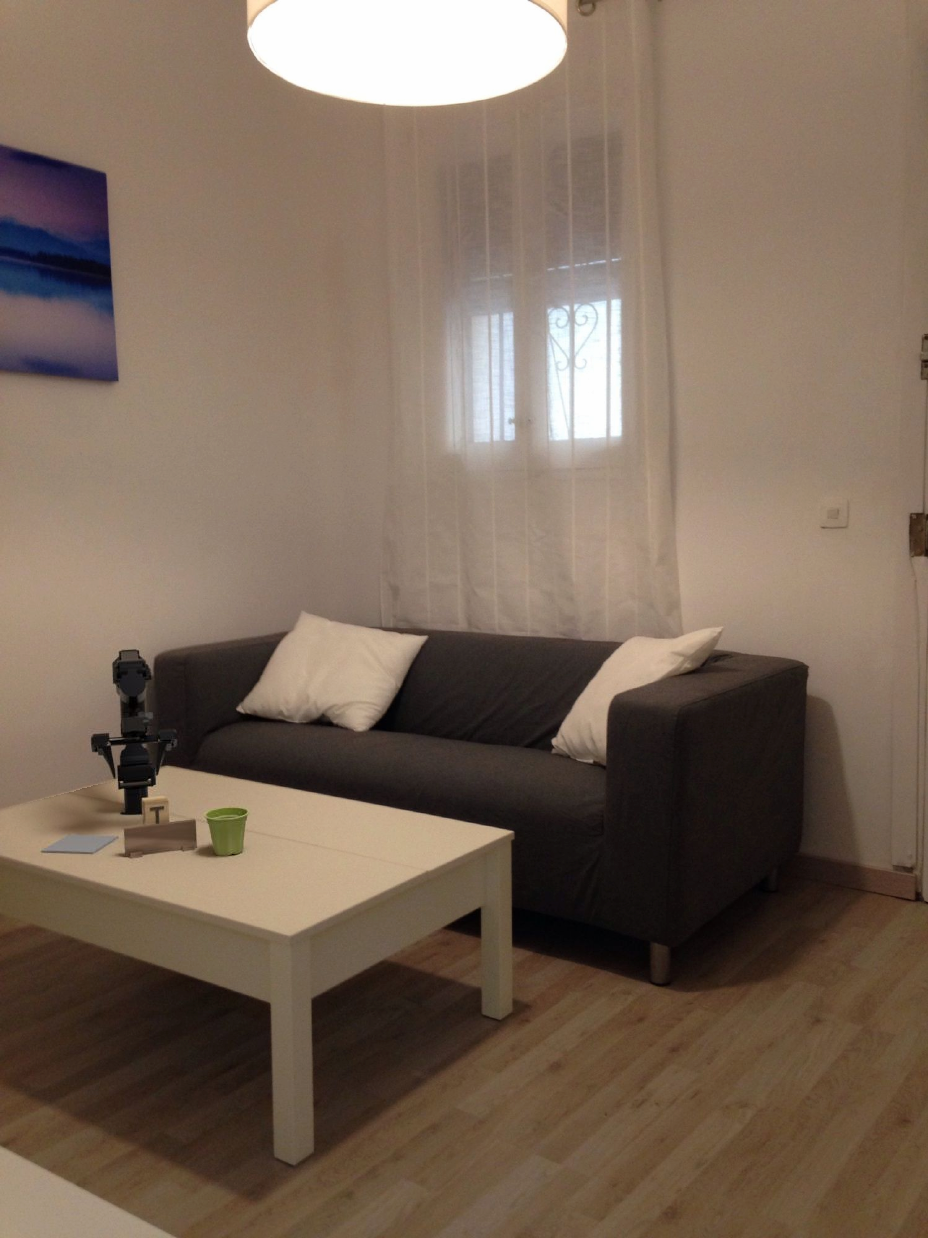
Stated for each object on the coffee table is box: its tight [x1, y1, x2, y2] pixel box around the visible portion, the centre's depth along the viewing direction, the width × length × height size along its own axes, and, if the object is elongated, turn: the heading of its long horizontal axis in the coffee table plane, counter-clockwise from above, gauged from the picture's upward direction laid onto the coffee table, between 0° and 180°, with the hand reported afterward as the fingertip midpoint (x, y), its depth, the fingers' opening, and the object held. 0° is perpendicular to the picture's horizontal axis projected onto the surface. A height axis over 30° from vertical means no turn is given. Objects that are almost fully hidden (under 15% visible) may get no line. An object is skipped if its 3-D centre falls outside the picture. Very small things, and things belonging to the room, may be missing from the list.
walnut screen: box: [123, 818, 198, 859], centre depth 242 cm, size 4×15×6 cm, turn 114°
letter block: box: [141, 795, 170, 826], centre depth 248 cm, size 5×5×10 cm
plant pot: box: [203, 806, 250, 857], centre depth 241 cm, size 9×9×9 cm
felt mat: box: [41, 834, 120, 855], centre depth 248 cm, size 12×12×1 cm
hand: (135, 776), depth 252 cm, fingers open, 9 cm apart
